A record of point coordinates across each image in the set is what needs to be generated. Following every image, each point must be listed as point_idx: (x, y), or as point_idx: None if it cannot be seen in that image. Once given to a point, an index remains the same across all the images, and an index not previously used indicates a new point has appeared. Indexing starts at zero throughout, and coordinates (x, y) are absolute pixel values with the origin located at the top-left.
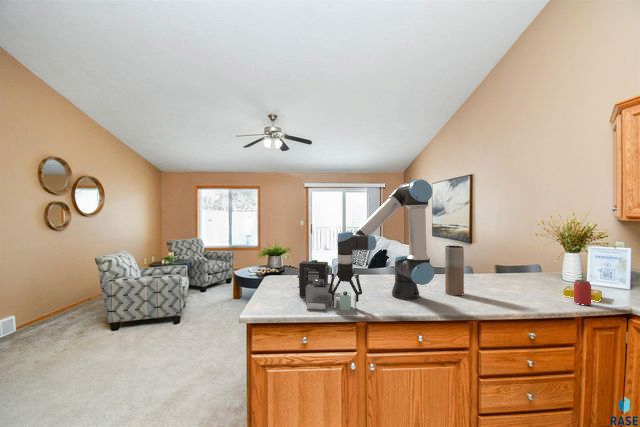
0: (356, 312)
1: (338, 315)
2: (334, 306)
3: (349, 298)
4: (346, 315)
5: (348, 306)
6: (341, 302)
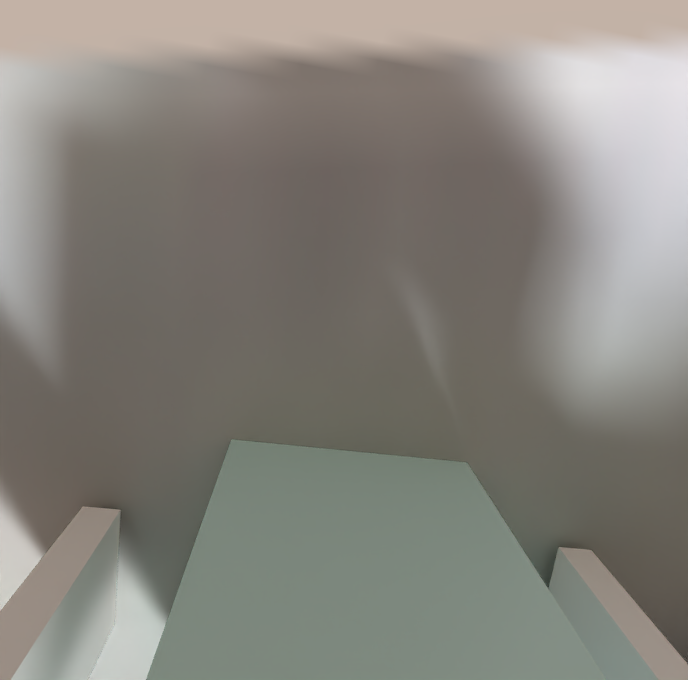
0: (71, 310)
1: (532, 68)
2: (599, 571)
3: (174, 670)
4: (330, 73)
5: (259, 486)
6: (484, 567)
